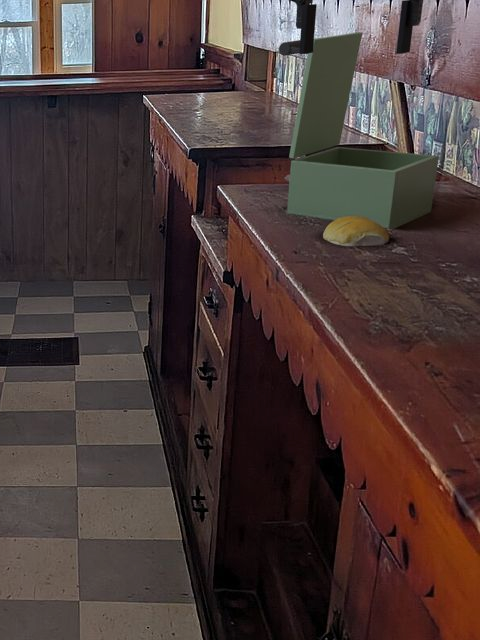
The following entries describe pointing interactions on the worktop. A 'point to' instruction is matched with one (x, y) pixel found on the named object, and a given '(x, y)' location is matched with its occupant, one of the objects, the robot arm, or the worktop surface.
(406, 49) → the robot arm
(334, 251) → the worktop surface
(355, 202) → the bread bin
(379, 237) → the bread roll
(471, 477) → the worktop surface
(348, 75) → the bin lid
